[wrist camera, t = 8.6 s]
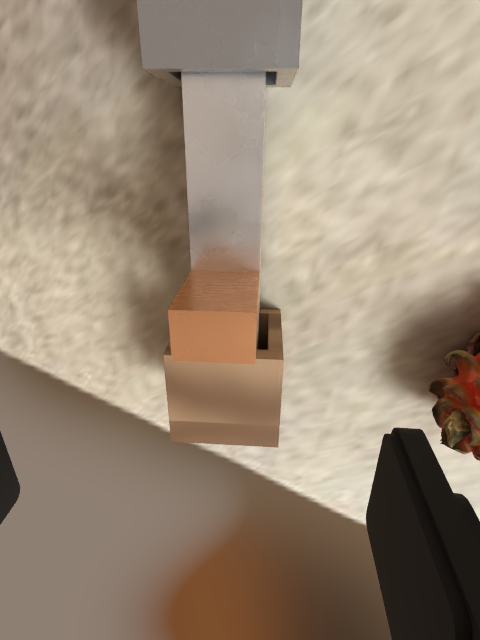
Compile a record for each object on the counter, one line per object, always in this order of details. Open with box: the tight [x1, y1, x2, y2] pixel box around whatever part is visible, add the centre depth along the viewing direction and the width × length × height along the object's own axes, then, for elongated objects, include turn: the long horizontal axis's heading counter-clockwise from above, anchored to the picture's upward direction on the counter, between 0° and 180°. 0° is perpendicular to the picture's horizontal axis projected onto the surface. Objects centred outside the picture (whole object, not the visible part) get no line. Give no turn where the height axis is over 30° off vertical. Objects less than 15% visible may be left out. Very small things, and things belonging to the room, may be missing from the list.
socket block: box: [163, 309, 284, 447], centre depth 25 cm, size 6×6×7 cm
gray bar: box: [168, 71, 266, 364], centre depth 18 cm, size 21×4×9 cm, turn 0°
